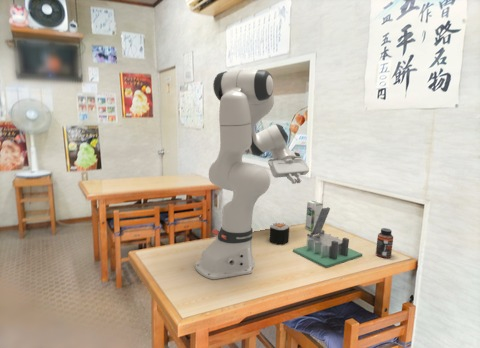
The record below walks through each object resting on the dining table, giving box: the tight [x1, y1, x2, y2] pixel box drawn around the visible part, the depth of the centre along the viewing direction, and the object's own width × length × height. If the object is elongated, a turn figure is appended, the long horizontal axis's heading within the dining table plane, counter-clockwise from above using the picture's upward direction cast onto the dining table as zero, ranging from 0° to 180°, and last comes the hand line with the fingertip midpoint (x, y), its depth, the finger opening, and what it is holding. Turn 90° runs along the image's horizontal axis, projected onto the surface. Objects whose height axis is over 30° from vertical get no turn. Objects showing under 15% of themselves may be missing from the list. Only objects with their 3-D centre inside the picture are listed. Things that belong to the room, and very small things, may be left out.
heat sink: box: [305, 229, 342, 258], centre depth 143 cm, size 14×13×6 cm
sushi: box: [268, 222, 290, 246], centre depth 154 cm, size 8×8×8 cm
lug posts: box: [330, 237, 350, 260], centre depth 137 cm, size 8×2×7 cm, turn 124°
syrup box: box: [304, 199, 324, 233], centre depth 171 cm, size 6×6×14 cm
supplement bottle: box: [375, 227, 394, 259], centre depth 142 cm, size 6×6×11 cm
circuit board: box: [292, 245, 363, 269], centre depth 142 cm, size 22×18×1 cm
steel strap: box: [311, 207, 331, 235], centre depth 144 cm, size 4×13×1 cm
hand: (297, 182), depth 154 cm, fingers closed
